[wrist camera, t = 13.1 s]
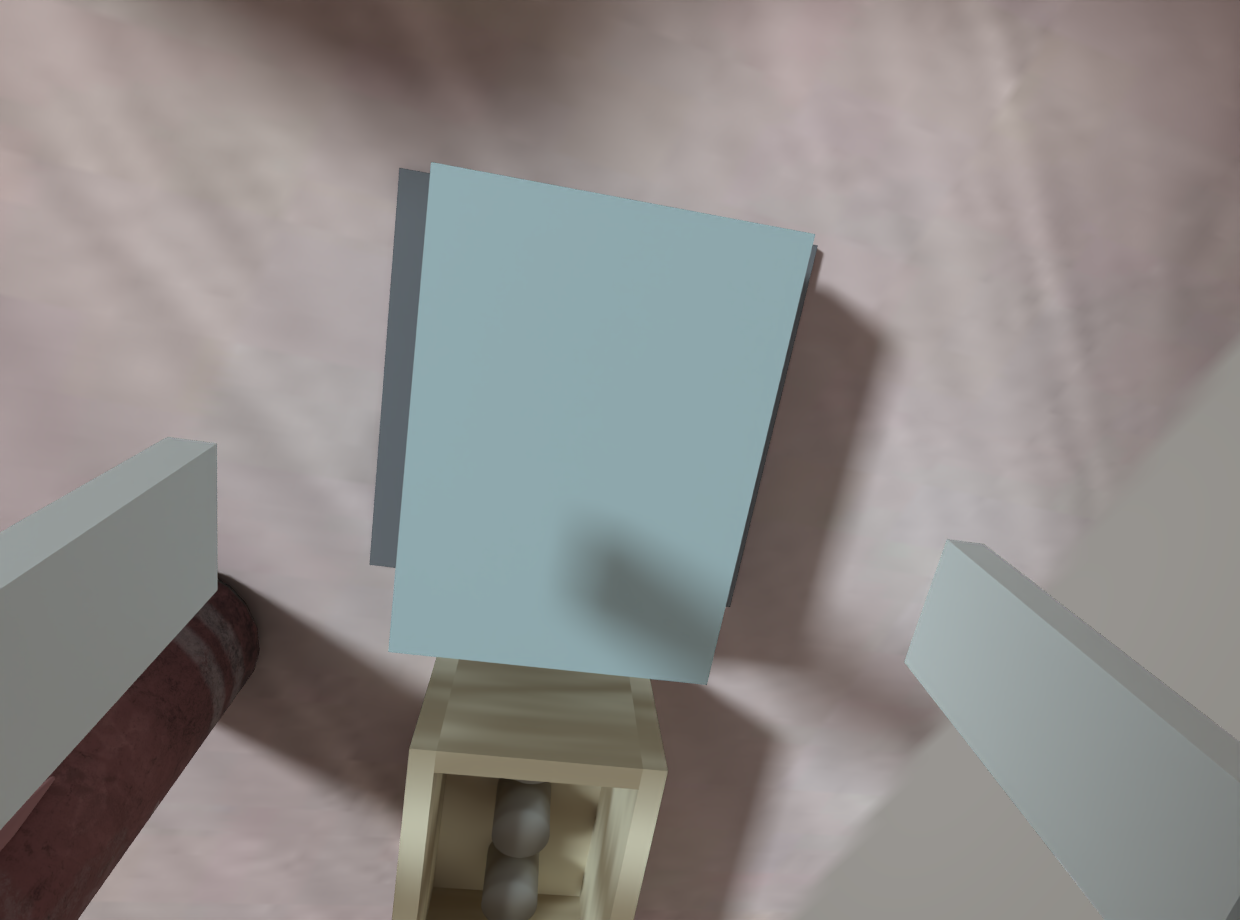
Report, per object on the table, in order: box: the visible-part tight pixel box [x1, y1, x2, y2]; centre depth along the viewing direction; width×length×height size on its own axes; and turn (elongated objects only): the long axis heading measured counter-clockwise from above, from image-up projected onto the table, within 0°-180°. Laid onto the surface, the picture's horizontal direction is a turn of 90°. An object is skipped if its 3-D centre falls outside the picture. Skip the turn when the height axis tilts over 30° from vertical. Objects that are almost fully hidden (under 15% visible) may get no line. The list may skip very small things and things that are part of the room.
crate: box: [392, 657, 668, 920], centre depth 27 cm, size 13×8×7 cm, turn 170°
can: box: [0, 579, 259, 920], centre depth 21 cm, size 6×6×14 cm
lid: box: [388, 162, 815, 685], centre depth 23 cm, size 14×10×6 cm
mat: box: [370, 168, 817, 607], centre depth 26 cm, size 14×14×1 cm
